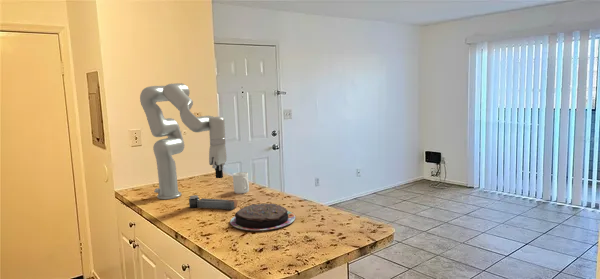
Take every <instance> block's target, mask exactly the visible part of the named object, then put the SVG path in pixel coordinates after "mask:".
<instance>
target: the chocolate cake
mask: <svg viewBox="0 0 600 279" xmlns="http://www.w3.org/2000/svg"><path fill="white" fill-rule="evenodd" d="M295 220H296V215H295V213H293V212H291V211H290V210H288V209H287V208H285V207H284V206H282V205H280V204H275V203H267V202H266V203H251V204H250V205H247V206H244V207H242V208H240V209H239V210H237V211H236V212H235V213H234V215H233V217H232V218H231V219H230V221H229V223H230V225H231V226H232V227H233V229H237V230H239V229H240V231H245V232H252V231H253V233H262V231H264V232H270V231H277V230H280V229H282V228H285V227H286V226H289V225H291V224H292V223H293V222H295Z"/></svg>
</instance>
